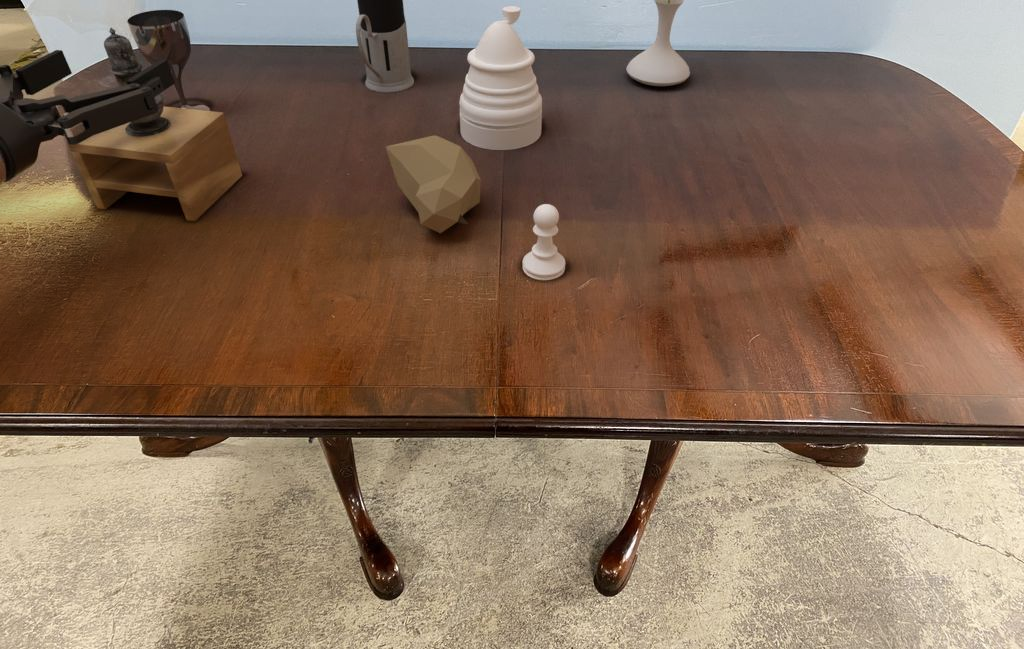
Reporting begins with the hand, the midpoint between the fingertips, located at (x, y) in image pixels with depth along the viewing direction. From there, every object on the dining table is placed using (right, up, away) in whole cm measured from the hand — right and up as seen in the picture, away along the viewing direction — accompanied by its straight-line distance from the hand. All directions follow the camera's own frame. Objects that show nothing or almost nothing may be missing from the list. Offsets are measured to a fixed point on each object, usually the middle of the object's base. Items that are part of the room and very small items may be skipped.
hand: (116, 66), depth 78 cm
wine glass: (-7, +5, +32) cm, 34 cm away
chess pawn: (+50, -24, +1) cm, 55 cm away
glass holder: (+24, +12, +41) cm, 48 cm away
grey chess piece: (0, -5, +6) cm, 8 cm away
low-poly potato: (+37, -17, +9) cm, 42 cm away
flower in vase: (+72, +14, +44) cm, 86 cm away
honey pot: (+44, 0, +28) cm, 53 cm away
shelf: (0, -13, +13) cm, 18 cm away
